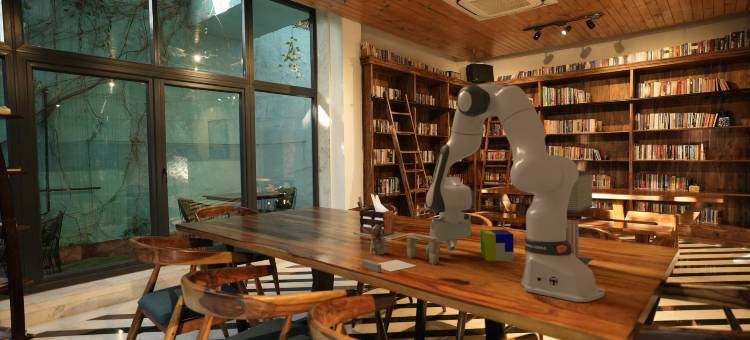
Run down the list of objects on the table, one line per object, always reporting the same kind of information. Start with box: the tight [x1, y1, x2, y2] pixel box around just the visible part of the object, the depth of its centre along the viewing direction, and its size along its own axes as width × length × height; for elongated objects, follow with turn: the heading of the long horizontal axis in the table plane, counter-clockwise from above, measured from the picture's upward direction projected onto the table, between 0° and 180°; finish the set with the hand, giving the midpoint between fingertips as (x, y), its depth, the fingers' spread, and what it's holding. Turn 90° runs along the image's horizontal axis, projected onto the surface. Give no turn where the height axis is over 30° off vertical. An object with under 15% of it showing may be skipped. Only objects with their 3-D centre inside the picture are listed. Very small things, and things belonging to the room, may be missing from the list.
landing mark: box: [377, 259, 417, 273], centre depth 153 cm, size 12×12×1 cm
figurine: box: [369, 223, 388, 256], centre depth 174 cm, size 7×7×12 cm
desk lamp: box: [566, 172, 594, 267], centre depth 147 cm, size 18×14×33 cm
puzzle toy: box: [480, 229, 515, 262], centre depth 163 cm, size 10×10×10 cm
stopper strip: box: [361, 258, 382, 273], centre depth 148 cm, size 10×2×2 cm, turn 35°
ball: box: [425, 244, 441, 257], centre depth 165 cm, size 6×6×6 cm
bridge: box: [406, 232, 440, 265], centre depth 161 cm, size 3×15×9 cm, turn 35°
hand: (450, 250), depth 169 cm, fingers closed
